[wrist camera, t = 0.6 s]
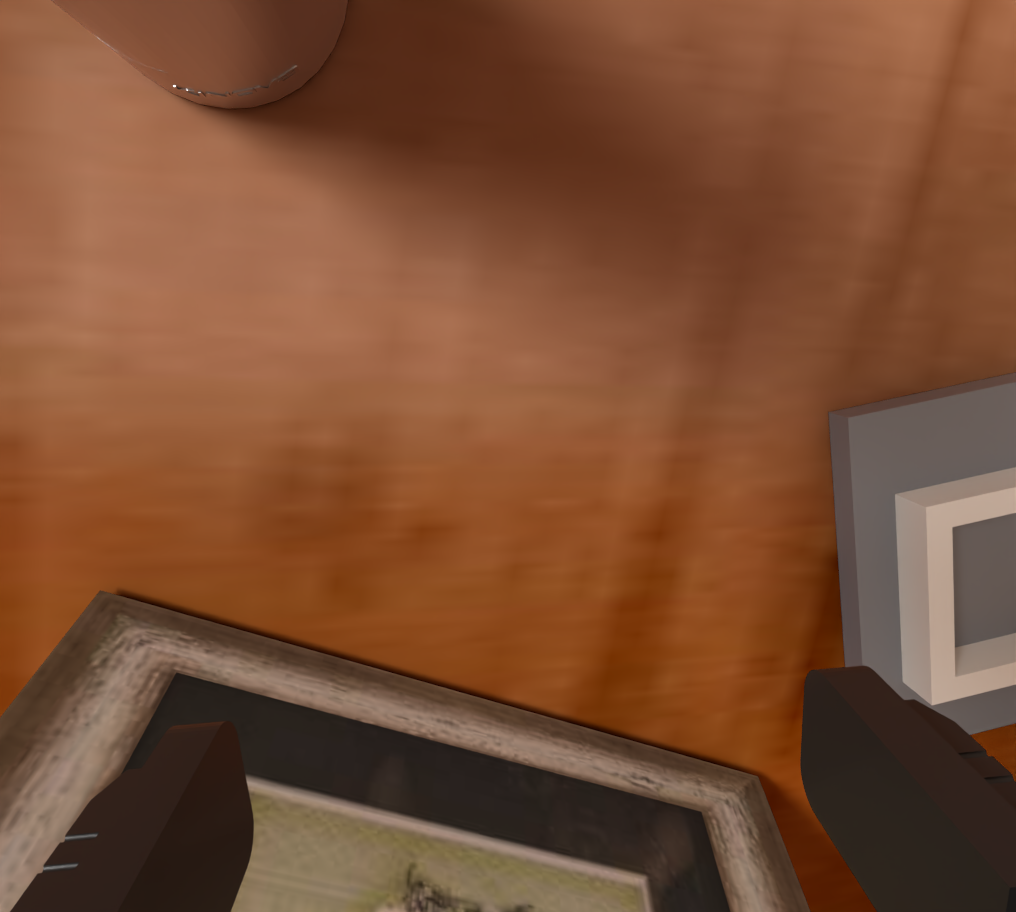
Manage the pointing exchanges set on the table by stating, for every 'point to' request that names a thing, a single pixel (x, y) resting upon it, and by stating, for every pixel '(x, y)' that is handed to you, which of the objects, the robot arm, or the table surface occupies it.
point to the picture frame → (382, 782)
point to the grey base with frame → (932, 546)
